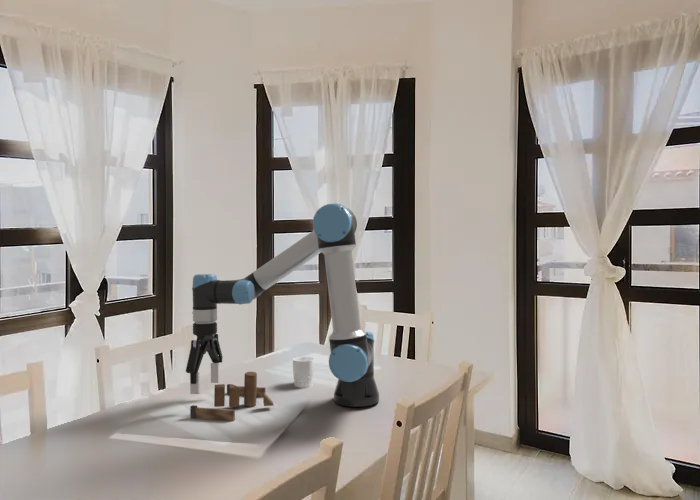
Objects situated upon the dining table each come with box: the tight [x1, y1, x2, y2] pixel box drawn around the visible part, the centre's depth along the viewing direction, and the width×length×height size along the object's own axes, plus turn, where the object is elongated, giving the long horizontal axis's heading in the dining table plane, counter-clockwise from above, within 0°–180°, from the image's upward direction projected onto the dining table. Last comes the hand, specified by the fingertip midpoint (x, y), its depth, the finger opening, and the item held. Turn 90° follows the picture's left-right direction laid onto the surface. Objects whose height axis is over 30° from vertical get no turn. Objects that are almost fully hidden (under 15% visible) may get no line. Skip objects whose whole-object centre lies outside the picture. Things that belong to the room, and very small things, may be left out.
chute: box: [189, 383, 267, 422], centre depth 165 cm, size 14×26×4 cm, turn 168°
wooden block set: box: [213, 371, 274, 408], centre depth 163 cm, size 18×9×10 cm, turn 104°
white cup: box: [292, 356, 315, 389], centre depth 189 cm, size 8×8×10 cm
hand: (205, 388), depth 166 cm, fingers open, 13 cm apart
